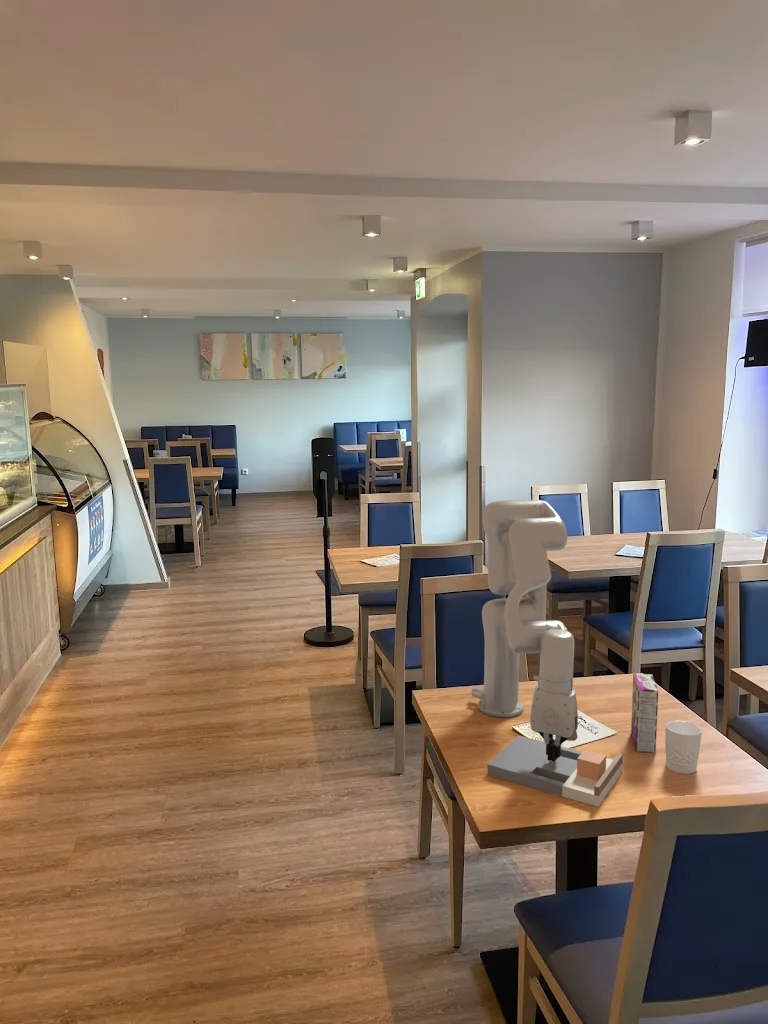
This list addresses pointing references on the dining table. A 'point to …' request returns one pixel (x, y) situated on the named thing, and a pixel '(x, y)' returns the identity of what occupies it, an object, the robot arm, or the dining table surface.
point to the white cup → (682, 746)
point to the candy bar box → (644, 713)
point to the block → (591, 765)
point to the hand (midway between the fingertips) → (553, 758)
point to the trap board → (552, 771)
